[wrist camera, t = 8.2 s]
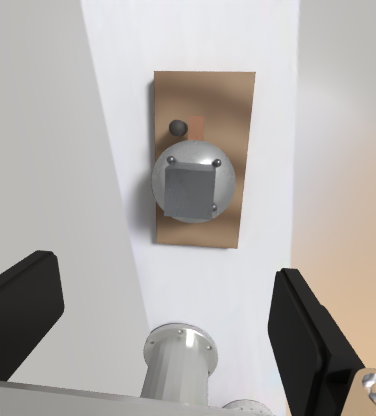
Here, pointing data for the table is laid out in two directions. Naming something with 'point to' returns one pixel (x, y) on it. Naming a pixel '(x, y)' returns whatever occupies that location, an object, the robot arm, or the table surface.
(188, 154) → the flange plate
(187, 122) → the base board
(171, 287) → the table surface
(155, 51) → the table surface
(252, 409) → the mechanical component
